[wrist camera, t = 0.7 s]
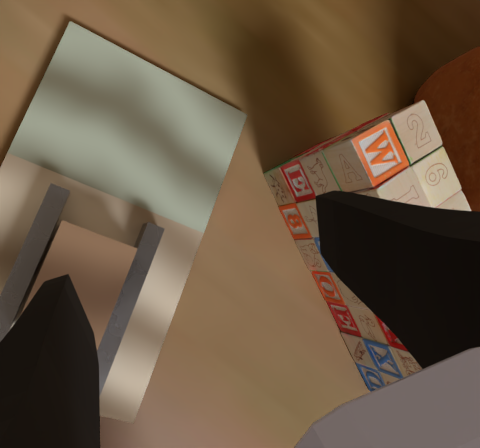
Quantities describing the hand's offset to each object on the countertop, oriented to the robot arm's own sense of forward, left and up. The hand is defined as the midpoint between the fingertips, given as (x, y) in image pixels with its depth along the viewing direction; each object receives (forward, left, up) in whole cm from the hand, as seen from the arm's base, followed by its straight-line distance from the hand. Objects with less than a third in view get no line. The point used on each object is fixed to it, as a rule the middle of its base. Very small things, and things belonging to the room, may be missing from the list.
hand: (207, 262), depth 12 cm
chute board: (+2, +2, -20) cm, 20 cm away
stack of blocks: (+6, -18, -20) cm, 28 cm away
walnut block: (-3, +2, -19) cm, 20 cm away
